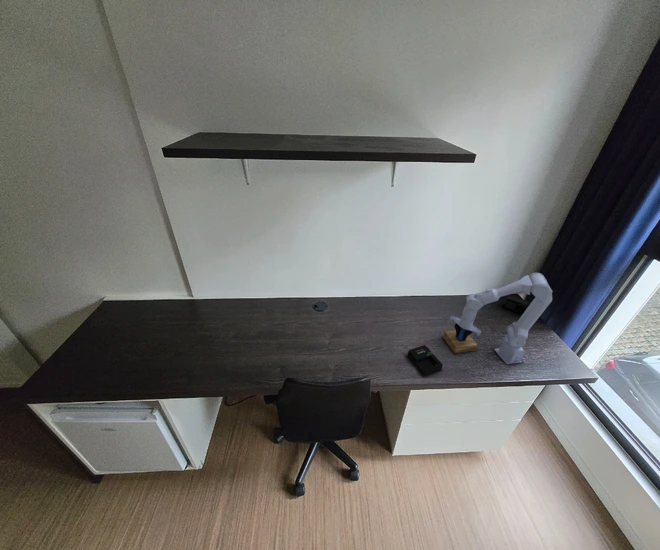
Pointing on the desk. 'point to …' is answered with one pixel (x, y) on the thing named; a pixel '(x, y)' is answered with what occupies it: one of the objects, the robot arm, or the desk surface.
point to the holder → (459, 342)
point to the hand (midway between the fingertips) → (460, 337)
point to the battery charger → (424, 360)
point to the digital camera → (516, 304)
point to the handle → (461, 334)
